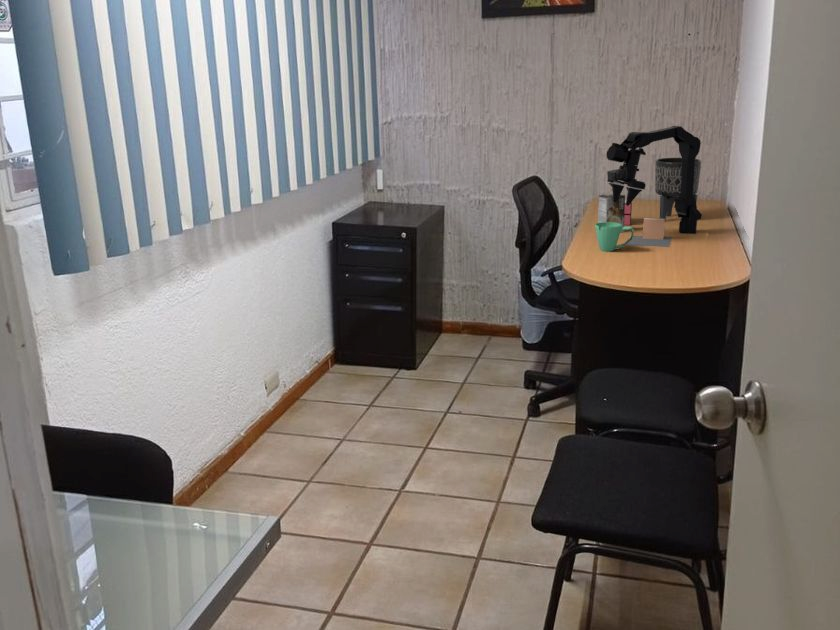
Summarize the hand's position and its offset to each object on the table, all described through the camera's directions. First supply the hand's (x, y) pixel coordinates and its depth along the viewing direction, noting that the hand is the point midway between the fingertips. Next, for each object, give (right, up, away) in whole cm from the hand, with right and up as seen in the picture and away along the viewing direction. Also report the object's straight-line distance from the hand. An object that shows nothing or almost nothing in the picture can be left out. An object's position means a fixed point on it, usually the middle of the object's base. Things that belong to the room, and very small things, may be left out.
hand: (620, 203), depth 323 cm
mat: (+12, -15, +1) cm, 19 cm away
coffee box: (+1, -10, +20) cm, 22 cm away
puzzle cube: (+9, -4, +39) cm, 41 cm away
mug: (-5, -20, -10) cm, 23 cm away
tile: (+14, -13, +5) cm, 20 cm away
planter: (+35, -1, +45) cm, 57 cm away
